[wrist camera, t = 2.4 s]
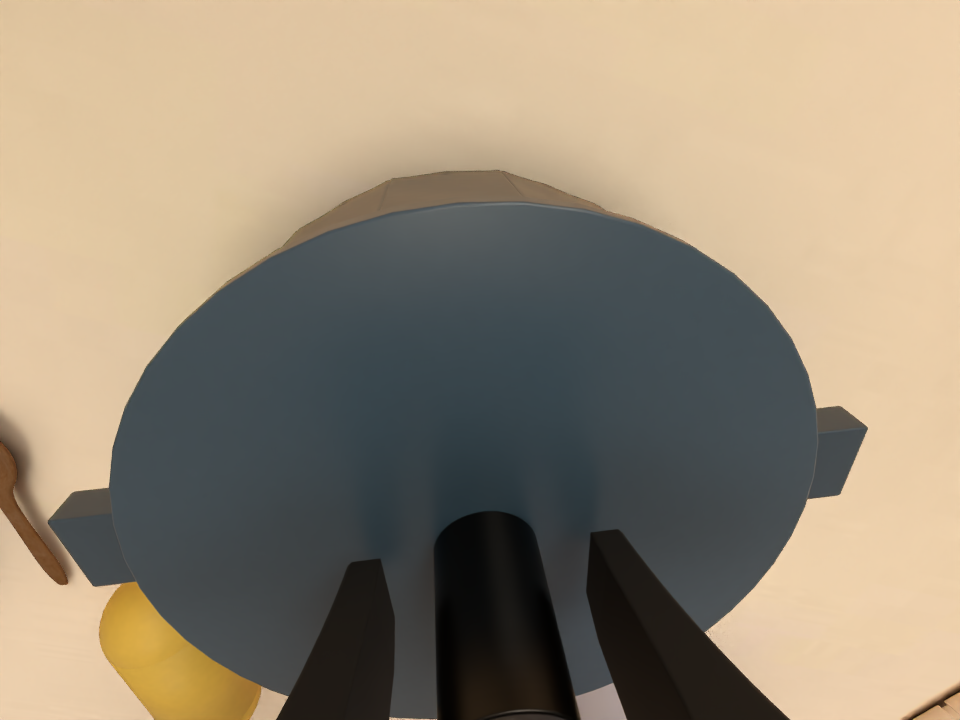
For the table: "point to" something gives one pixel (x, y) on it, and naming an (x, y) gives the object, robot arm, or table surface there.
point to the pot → (89, 512)
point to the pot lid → (461, 446)
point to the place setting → (25, 519)
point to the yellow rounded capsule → (169, 665)
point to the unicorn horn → (943, 710)
